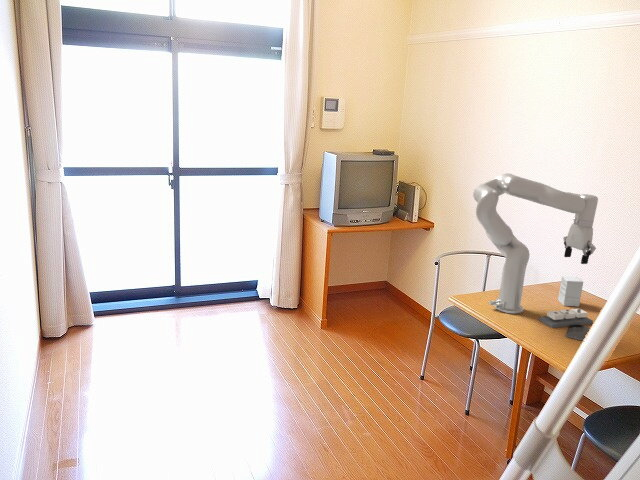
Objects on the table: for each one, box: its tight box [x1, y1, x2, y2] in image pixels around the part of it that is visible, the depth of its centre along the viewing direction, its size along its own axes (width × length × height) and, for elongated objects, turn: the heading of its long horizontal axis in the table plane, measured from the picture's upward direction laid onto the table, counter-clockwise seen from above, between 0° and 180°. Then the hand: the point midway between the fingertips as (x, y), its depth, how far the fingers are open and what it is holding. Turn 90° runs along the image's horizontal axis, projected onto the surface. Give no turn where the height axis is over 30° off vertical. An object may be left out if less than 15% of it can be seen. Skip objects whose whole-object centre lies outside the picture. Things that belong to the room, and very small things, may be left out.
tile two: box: [558, 309, 576, 319], centre depth 216 cm, size 5×5×2 cm
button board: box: [538, 315, 594, 329], centre depth 216 cm, size 21×8×2 cm, turn 105°
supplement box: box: [557, 275, 584, 307], centre depth 236 cm, size 7×7×13 cm
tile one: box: [546, 310, 564, 320], centre depth 214 cm, size 5×5×2 cm
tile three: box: [570, 308, 588, 318], centre depth 217 cm, size 5×5×2 cm
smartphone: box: [565, 324, 590, 342], centre depth 207 cm, size 7×1×16 cm
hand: (575, 260), depth 222 cm, fingers open, 9 cm apart
